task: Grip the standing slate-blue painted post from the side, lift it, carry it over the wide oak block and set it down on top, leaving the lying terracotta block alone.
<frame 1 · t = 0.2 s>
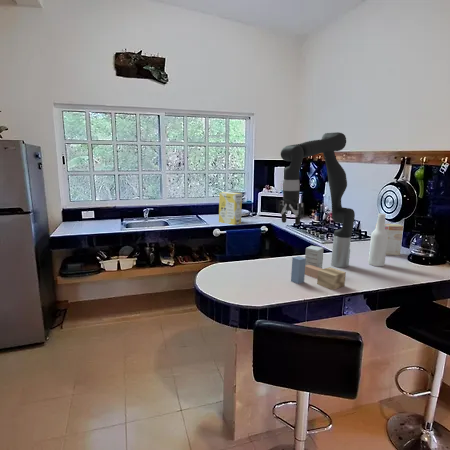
hand: (290, 223, 159), 29 cm above the worktop, tool pointing down, fingers open, 8 cm apart
oak base block: (330, 285, 160), on the worktop
coffeecake box: (385, 254, 219), on the worktop
terracotta block: (313, 276, 172), on the worktop
blue post block: (297, 281, 163), on the worktop
grey upright block: (313, 270, 181), on the worktop
alcohol: (376, 264, 194), on the worktop
pasta box: (229, 222, 313), on the worktop
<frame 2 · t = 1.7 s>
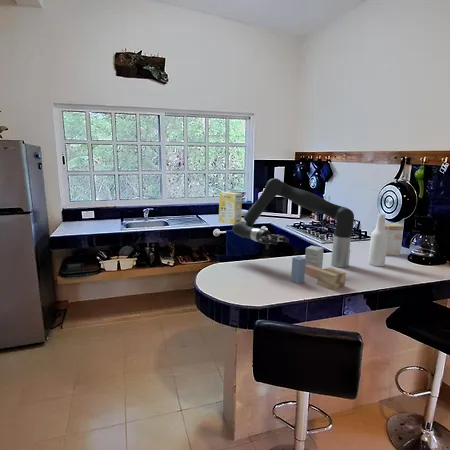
hand: (282, 241, 168), 18 cm above the worktop, tool horizontal, fingers open, 8 cm apart
nothing on the worktop moved.
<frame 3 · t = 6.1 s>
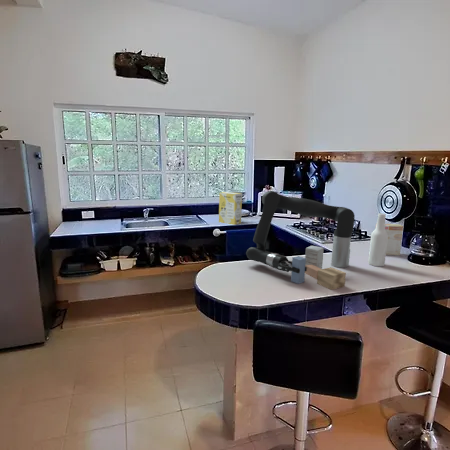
hand: (302, 270, 160), 7 cm above the worktop, tool horizontal, fingers closed on blue post block, 4 cm apart
blue post block: (297, 281, 163), on the worktop, touching gripper
everything else where it was.
when the fingers open (14 cm above the worktop, at t = 9.6 s): blue post block stays where it is, resting on oak base block.
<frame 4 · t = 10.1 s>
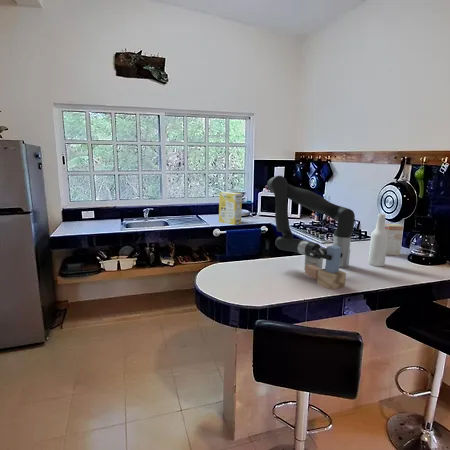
hand: (336, 256, 156), 15 cm above the worktop, tool horizontal, fingers open, 8 cm apart
oak base block: (330, 285, 160), on the worktop, touching blue post block
blue post block: (331, 271, 159), point 7 cm above the worktop, touching oak base block
everything else where it was.
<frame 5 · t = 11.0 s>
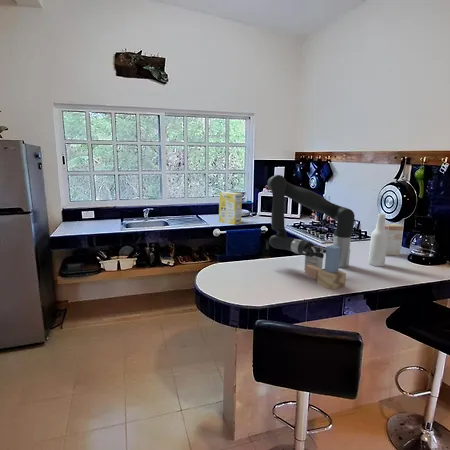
hand: (328, 254, 159), 14 cm above the worktop, tool horizontal, fingers open, 8 cm apart
oak base block: (330, 285, 160), on the worktop
blue post block: (331, 271, 159), point 7 cm above the worktop
everything else where it was.
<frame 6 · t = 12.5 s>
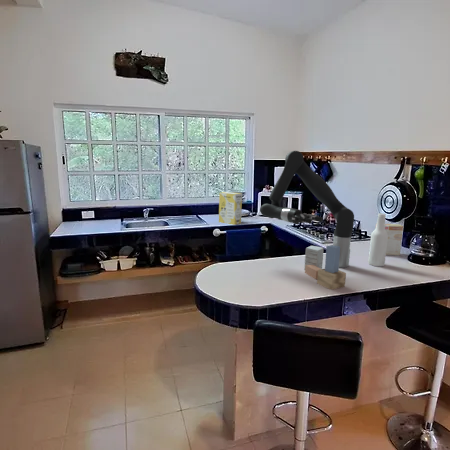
hand: (316, 220, 163), 30 cm above the worktop, tool horizontal, fingers open, 8 cm apart
nothing on the worktop moved.
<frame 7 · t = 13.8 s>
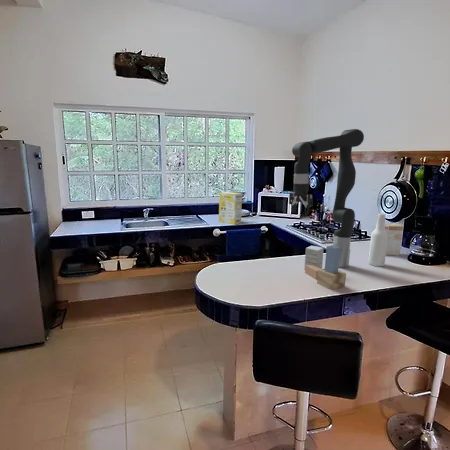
hand: (300, 213, 175), 31 cm above the worktop, tool pointing down, fingers open, 8 cm apart
oak base block: (330, 285, 160), on the worktop, touching blue post block
blue post block: (331, 271, 159), point 7 cm above the worktop, touching oak base block
everything else where it was.
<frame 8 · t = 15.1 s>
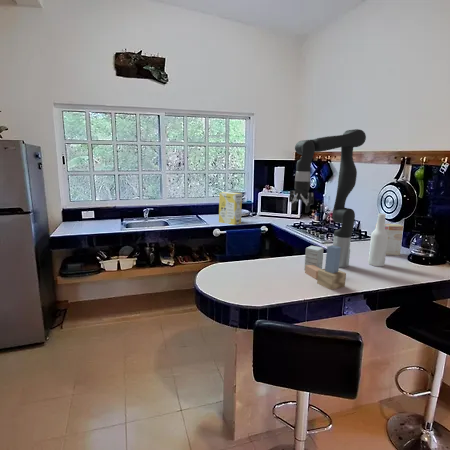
hand: (300, 211, 174), 32 cm above the worktop, tool pointing down, fingers open, 8 cm apart
nothing on the worktop moved.
at the end: blue post block inside the target area on the oak base block (0.1 cm from its centre), point 7.1 cm above the oak base block's base; blue post block tilted 2°; the gripper is holding nothing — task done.
